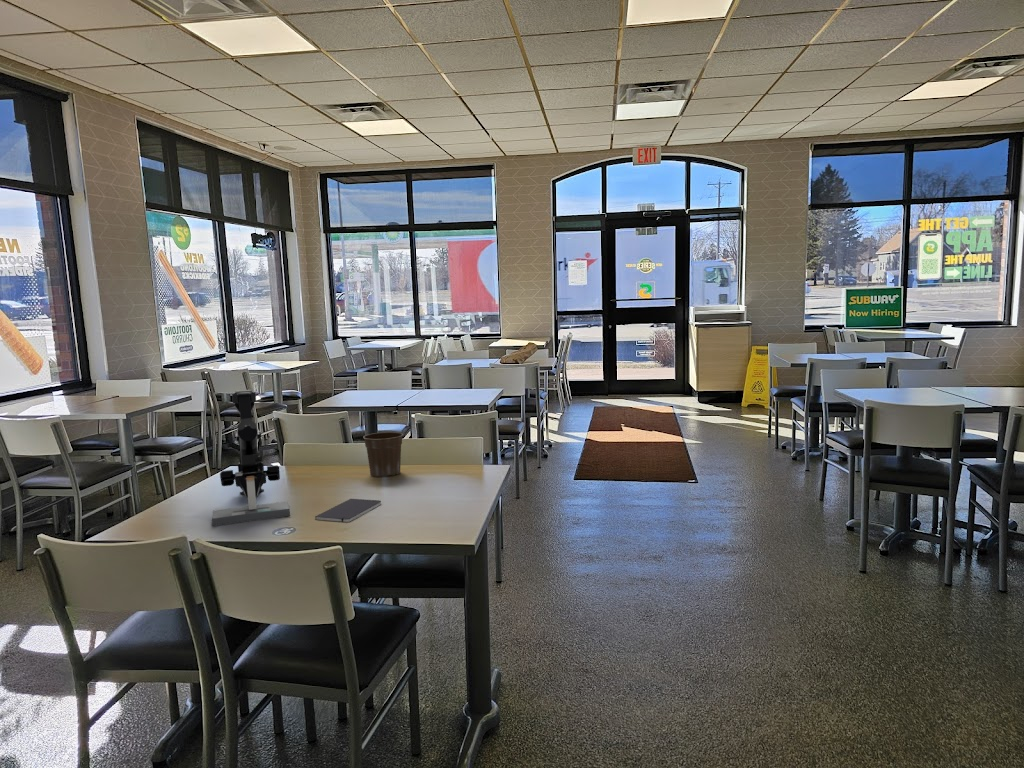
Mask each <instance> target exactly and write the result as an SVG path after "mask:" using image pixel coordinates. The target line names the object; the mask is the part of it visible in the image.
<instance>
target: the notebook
mask: <svg viewBox="0 0 1024 768" xmlns="http://www.w3.org/2000/svg"><path fill="white" fill-rule="evenodd" d="M381 504H382V501H381V500H379V499H378V500H376V499H375V500H374V499H362V498H349V499H347V500H345V501H343V502H341V503H339V504H337V505H335V506H334V507H331V508H329V509H327V510H325V511H323V512H322V513H319V514H317V515H315V516H314V518H315V520H317V521H318V520H319V521H320V520H321V521H332V522H342V523H344V522H347V523H349V522H351V521H353V520H355V519H357V518H359V517H361V516H362V515H364V514H366V513H368V512H369V511H371V510H374V509H375V508H376V507H378V506H380V505H381Z"/></svg>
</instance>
